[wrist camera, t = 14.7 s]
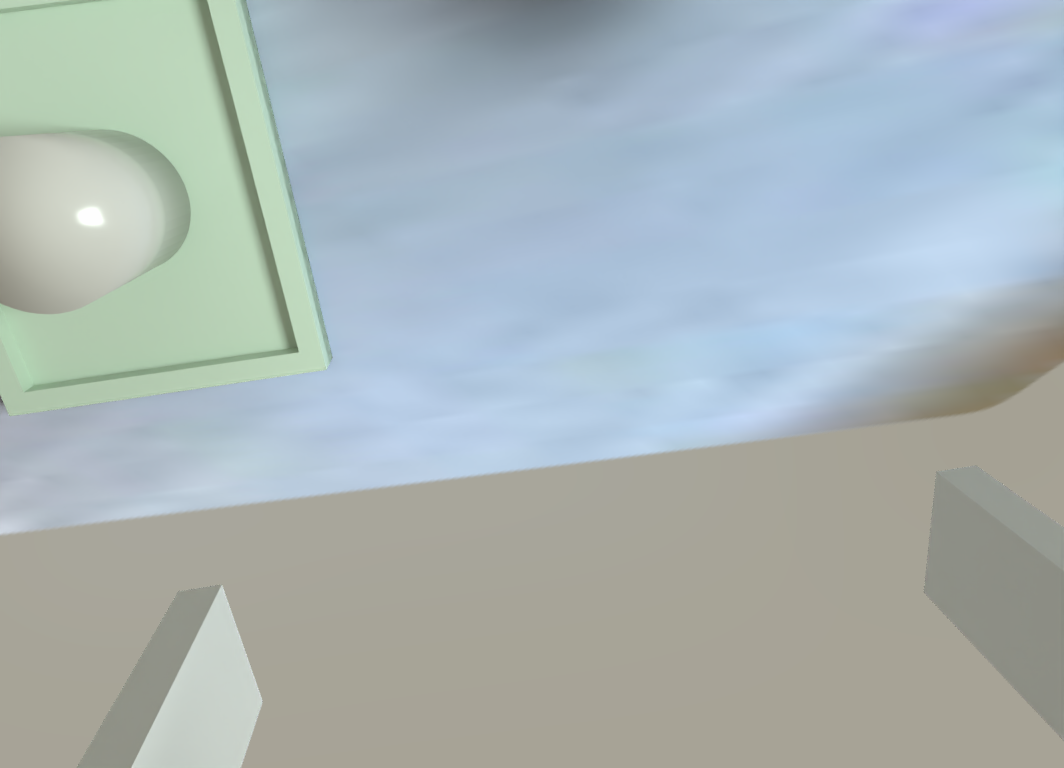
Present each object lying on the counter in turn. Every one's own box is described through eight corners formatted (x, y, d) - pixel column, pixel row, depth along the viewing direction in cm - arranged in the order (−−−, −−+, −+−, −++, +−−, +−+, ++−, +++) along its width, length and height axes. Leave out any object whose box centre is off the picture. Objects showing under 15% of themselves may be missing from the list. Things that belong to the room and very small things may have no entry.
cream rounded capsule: (19, 139, 34) (-102, 149, 27) (166, 120, 35) (86, 125, 27) (72, 280, 37) (-25, 325, 30) (208, 261, 37) (145, 301, 30)
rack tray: (-138, 4, 33) (-174, -2, 31) (235, -42, 33) (222, -51, 32) (30, 401, 40) (9, 416, 38) (332, 357, 41) (326, 369, 39)
